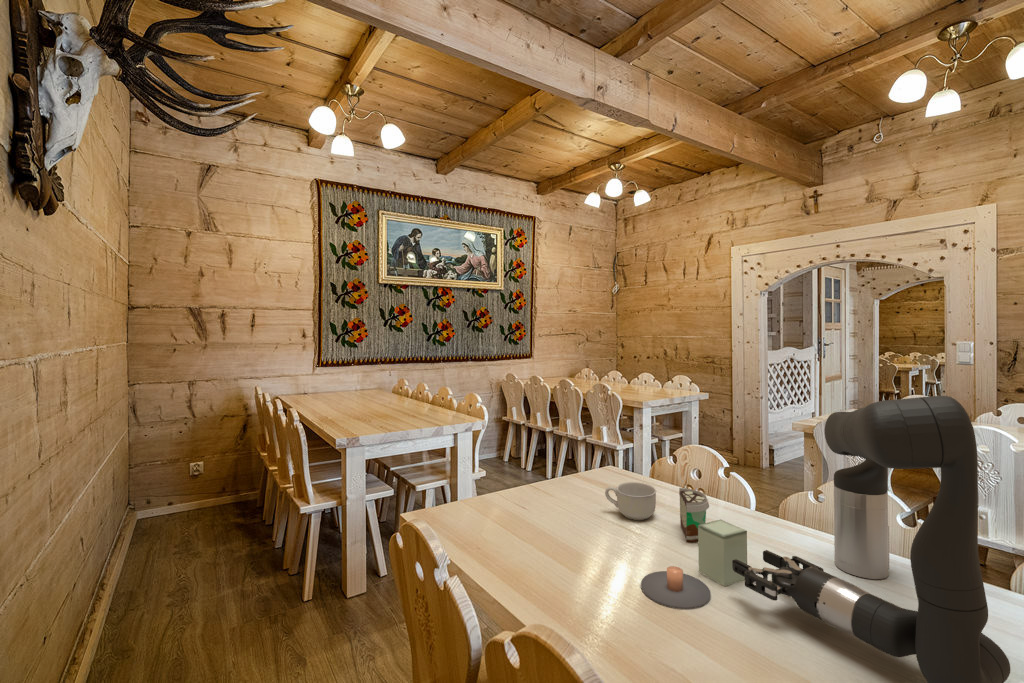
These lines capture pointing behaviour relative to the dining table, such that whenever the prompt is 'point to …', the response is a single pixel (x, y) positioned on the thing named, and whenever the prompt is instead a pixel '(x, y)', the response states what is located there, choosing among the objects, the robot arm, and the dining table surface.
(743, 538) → the upright green box
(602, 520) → the dining table surface
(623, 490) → the teacup
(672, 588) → the pillar candle
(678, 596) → the mat
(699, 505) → the food container
